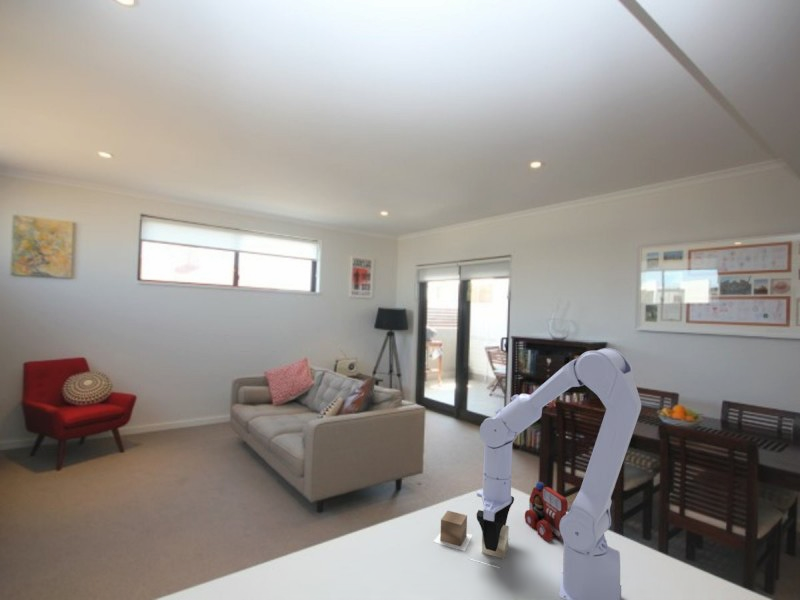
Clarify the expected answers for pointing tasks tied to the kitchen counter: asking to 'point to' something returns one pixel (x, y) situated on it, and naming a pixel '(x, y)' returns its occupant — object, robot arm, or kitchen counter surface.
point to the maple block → (502, 544)
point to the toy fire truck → (546, 511)
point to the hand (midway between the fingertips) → (495, 539)
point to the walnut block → (453, 528)
